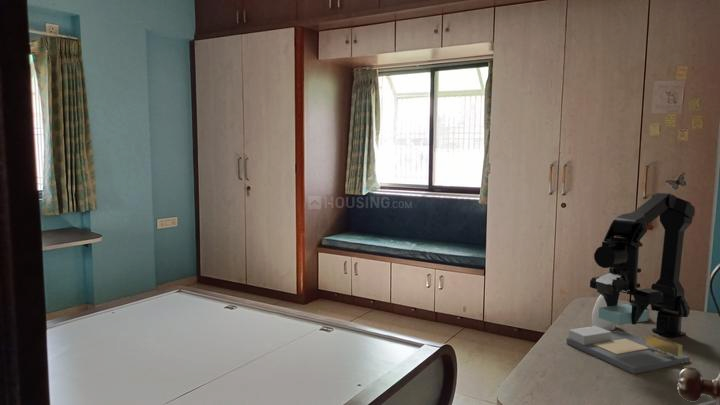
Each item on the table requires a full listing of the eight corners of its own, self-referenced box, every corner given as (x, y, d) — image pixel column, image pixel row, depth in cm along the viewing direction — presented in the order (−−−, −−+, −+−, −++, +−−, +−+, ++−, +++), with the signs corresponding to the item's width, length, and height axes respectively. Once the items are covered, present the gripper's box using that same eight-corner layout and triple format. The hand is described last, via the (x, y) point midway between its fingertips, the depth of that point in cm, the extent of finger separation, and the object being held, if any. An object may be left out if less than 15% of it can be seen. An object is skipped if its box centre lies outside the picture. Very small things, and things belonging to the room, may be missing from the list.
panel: (618, 334, 152) (618, 321, 152) (689, 362, 132) (690, 347, 131) (566, 343, 145) (567, 329, 144) (633, 373, 124) (634, 358, 124)
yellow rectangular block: (650, 347, 138) (651, 333, 138) (681, 359, 130) (682, 345, 129) (645, 348, 137) (646, 334, 137) (677, 360, 129) (678, 346, 129)
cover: (626, 313, 142) (626, 303, 142) (647, 320, 136) (647, 310, 136) (598, 317, 139) (599, 307, 138) (618, 325, 132) (619, 314, 132)
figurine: (617, 334, 153) (619, 295, 151) (589, 329, 157) (591, 291, 156) (619, 327, 159) (621, 290, 157) (592, 323, 163) (594, 286, 162)
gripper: (576, 259, 142) (573, 313, 143) (634, 273, 125) (630, 335, 126) (605, 256, 146) (603, 309, 147) (666, 270, 129) (662, 330, 130)
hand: (622, 320), depth 138 cm, fingers closed on cover, 6 cm apart
